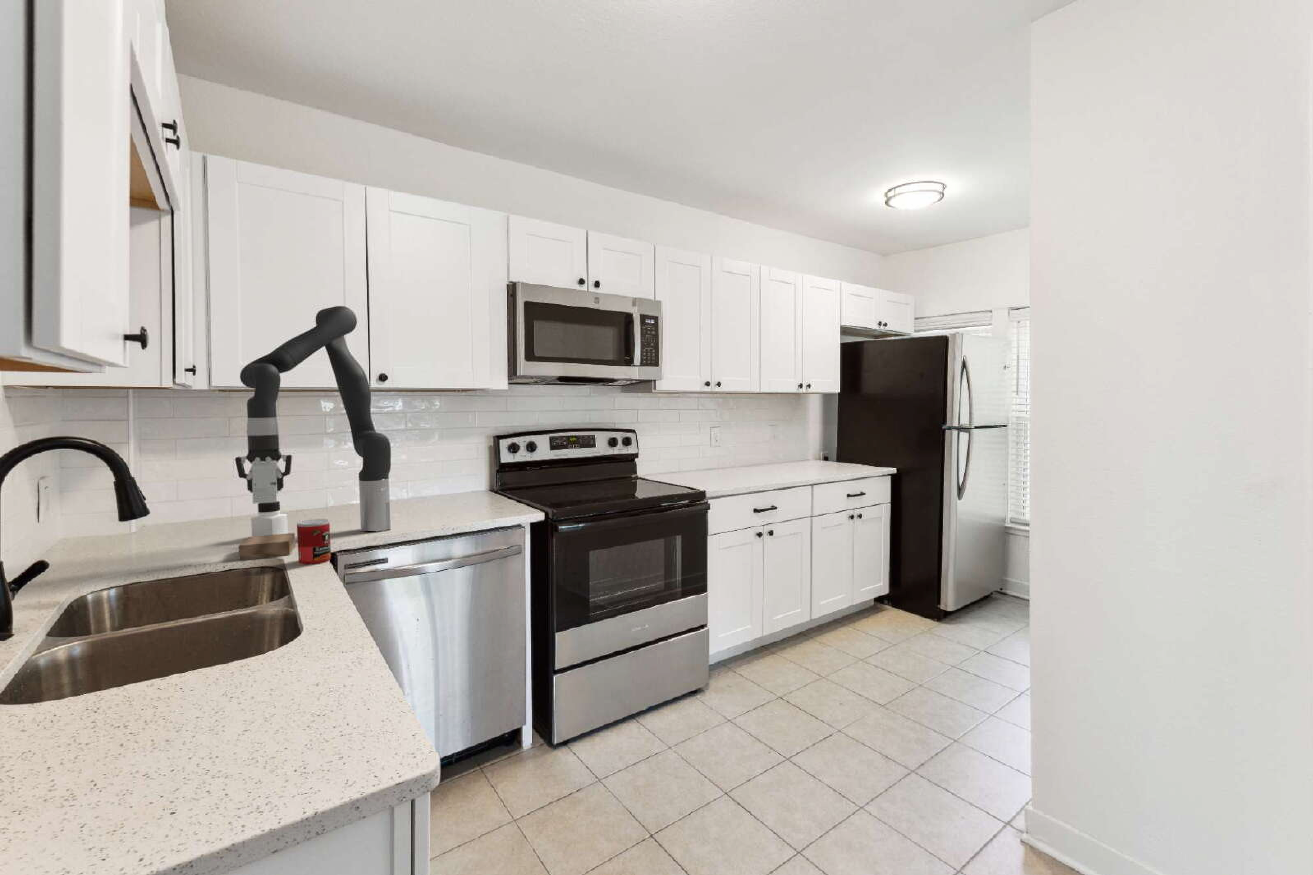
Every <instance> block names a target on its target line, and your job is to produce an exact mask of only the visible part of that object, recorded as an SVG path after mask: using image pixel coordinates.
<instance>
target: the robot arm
mask: <svg viewBox="0 0 1313 875" xmlns="http://www.w3.org/2000/svg"><path fill="white" fill-rule="evenodd" d="M357 319H358V318H357V315H356V313H355V312H354V311H353V310H352V309H351V308H349V307H347V306H345V305H336V306H331V307H327V308H323V309H321V310H319V311H317V313H316V315H315V326H313V327H312V328H310V329H309V330H307V331H305V332H302V333H300V334H298V335H296V336H294V337H291V339H289V340H287V341H285V342H283V343H282V344H281V345H279V346H278V347H277V348H275V349H274V350H272V351H270V352H269V353H267V354H265V355H263V356H261V357H258V358H256V359H255V360H253V361H251V362H249V363H248V364H246V365H245V366H244V367H243V368H242V369H241V371H240V373H239V374H240V375H239V379H240V382H241V383H242V384H243V385H244V386H245V387H246V388H249V389H254V394H253V396H252V397H250V398H248V400H246V401H247V402H246V411H247V414H246V415H247V421H246V436H247V455H245V456H244V455H243V456H237V457H235V459H234V461H235V465H236V471H237V476H238V477H239V479H245V480H246V485H247V486H246V487H247V491H248V492H249V493H252V494H253V488H252V466H251V467H250V468H249V471H248V473H246V470H245V465H244V464H245V463H246V461H247V462H249V464H251V465H252V462H253V461H254V462H258V463H259V461H267V462H271V461H277V462H278V463H279V461H280V460H281V459H282V462H284V464H285V466H284V471H282V470H281V468H280V466H279V465H278V467H276V471H277V477H278V478H277V491H279V492H280V491H282V490H283V489H284V488H285V486H284V477H287V476H289V475H291V470H292V461H293V455H292V454H282V452H281V451H280V441H279V440H280V438H279V436H280V435H279V423H278V419H277V400H278V397H279V393H280V392H279V391H280V388H281V381H282V380H281V375H280V374H284V373H288V372H290V371H292V370H293V369H294V368H296V367H297V366H299V365H300V364H301V363H303V362H304V361H305V360H307V359H308V358H310V356H312V355H313V354H314V353H316V352H318V351H319V350H321V349H322V348H325V350H326V351H325V352H327V355H328V360H329V363H330V366H331V368H332V372H333V375H334V378H335V382H336V385H337V389H338V392H339V396H340V398H341V402H342V404H343V407H344V411H345V414H346V416H347V420H348V423H349V427H350V432H351V437H352V445H353V448H354V450H355V453H356V454H357V456H359V457H360V458H362V467H361V468H362V469H361V470H360V471H359V473H358V490H359V491H358V492H359V515H360V516H359V517H360V521H359V522H360V525H359V526H360V531H361V532H363V531H376V532H383V531H388V530H389V529H390V530H392V528H391V504H390V502H391V501H390V482H389V480H390V478H389V477H390V476H389V475H390V471H391V466H392V464H391V463H392V458H391V457H392V452H391V451H392V450H391V443H390V439H389V438H388V437H387V436H386V435H385V434H383V433H382V432H377V430H376V428H375V426H374V423H373V422H374V421H373V420H372V414H371V408H372V407H371V406H372V391H371V386H370V384H369V381H368V376H367V374H366V372H365V370H364V368H363V367H362V366H361V364H360V363H359V362H358V361H357V360H356V359H355V357H354V356H353V355H352V354H351V351H350V350H349V348H348V345H347V341H346V339H345V336H346V335H349V334H351V333H352V332H353V331H354V330H355V329H356V327H357V325H358V320H357Z"/></svg>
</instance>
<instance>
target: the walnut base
mask: <svg viewBox="0 0 1313 875" xmlns="http://www.w3.org/2000/svg"><path fill="white" fill-rule="evenodd" d="M295 547H296V534H295V532H290V533H289V532H288V534H276V535H264V536H252V535H251V536H247V537H245V539H243V541H241V543H240V544H239V545H238V559H239V561H242V560H251V559H252V560H253V559H261V558H263V559H264V558H272V557H271V556H274V557H283V556H290V555H291V553H292V552H293V551H294V548H295Z"/></svg>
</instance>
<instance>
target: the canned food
mask: <svg viewBox="0 0 1313 875" xmlns="http://www.w3.org/2000/svg"><path fill="white" fill-rule="evenodd" d="M296 534H297V535H296V536H297V538H296V539H297V555H298V557H297V558H298V562H299V564H302V565H309V566H310V565H317V564H318V565H319V564H324V563H326V562H328V561H330V560H331V557H332V550H331V547H332V546H331V526H330V520H329V519H326V518H312V519H305V520H300V521H298V522H296Z"/></svg>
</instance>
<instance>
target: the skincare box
mask: <svg viewBox="0 0 1313 875" xmlns="http://www.w3.org/2000/svg"><path fill="white" fill-rule="evenodd" d="M278 466H279V461H278V462H277V461H271V462H267V461H259V463H258V462H254V461H253V462H252V464H251V467H252V488H253V493H252V504H258V503H270V502H277V501H280V491H277V478H278V477H277V471H276V467H278Z"/></svg>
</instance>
